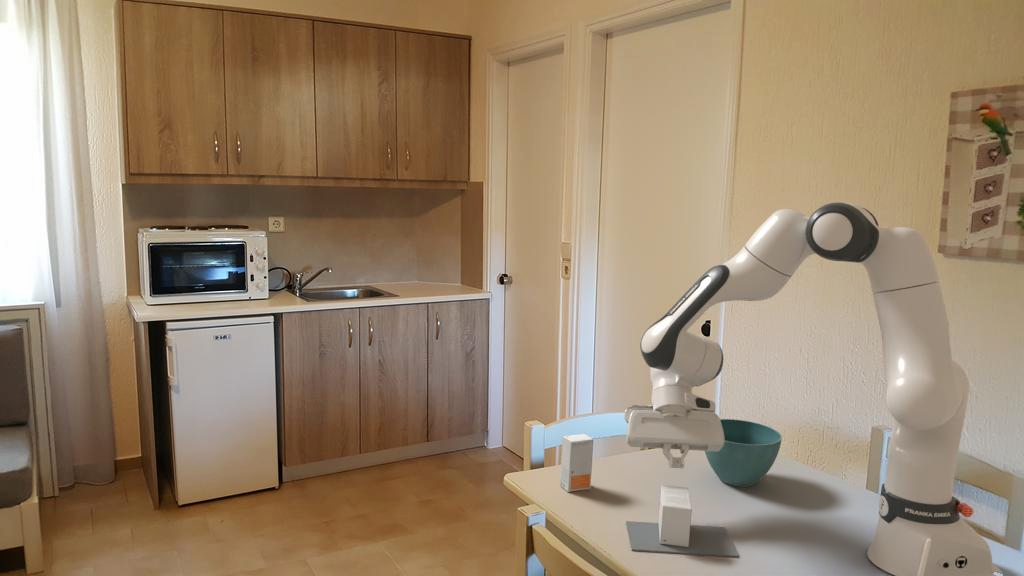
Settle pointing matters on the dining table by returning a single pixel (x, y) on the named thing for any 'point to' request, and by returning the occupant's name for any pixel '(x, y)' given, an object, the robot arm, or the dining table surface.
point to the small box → (674, 516)
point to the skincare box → (576, 462)
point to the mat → (700, 543)
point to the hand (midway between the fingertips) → (676, 467)
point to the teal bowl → (744, 452)
